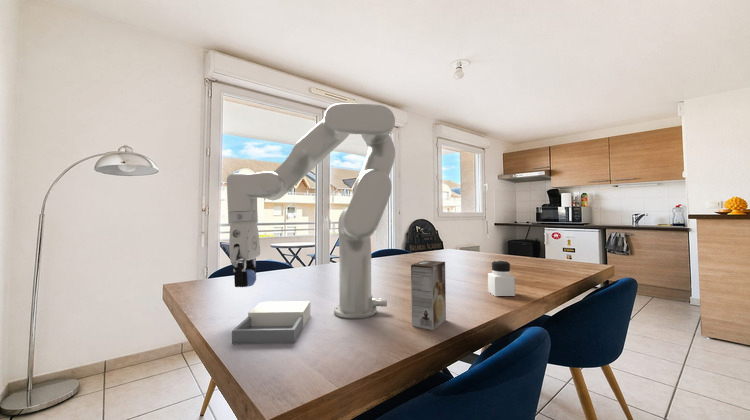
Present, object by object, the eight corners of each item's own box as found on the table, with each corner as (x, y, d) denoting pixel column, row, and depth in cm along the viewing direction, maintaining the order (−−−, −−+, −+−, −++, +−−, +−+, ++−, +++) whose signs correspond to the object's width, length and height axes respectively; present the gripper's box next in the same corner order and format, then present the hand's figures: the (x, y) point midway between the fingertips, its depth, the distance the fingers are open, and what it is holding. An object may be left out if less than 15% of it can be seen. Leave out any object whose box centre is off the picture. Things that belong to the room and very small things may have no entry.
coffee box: (424, 316, 87) (424, 259, 87) (446, 320, 83) (446, 261, 84) (410, 326, 79) (410, 264, 79) (434, 331, 76) (433, 266, 76)
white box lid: (310, 314, 88) (310, 301, 88) (303, 327, 78) (303, 311, 78) (261, 315, 88) (261, 301, 88) (248, 328, 78) (248, 312, 78)
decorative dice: (256, 284, 84) (255, 270, 85) (242, 287, 81) (242, 272, 81) (248, 283, 87) (248, 269, 87) (235, 286, 84) (234, 271, 84)
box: (303, 327, 78) (303, 316, 78) (294, 343, 69) (294, 329, 69) (247, 328, 78) (247, 316, 78) (231, 344, 68) (231, 330, 68)
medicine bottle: (515, 297, 106) (515, 262, 107) (495, 297, 107) (494, 262, 107) (507, 292, 114) (506, 259, 114) (487, 292, 114) (487, 259, 114)
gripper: (244, 218, 76) (247, 291, 76) (266, 217, 93) (269, 276, 93) (213, 219, 76) (216, 292, 75) (242, 218, 93) (244, 278, 93)
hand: (245, 283), depth 84 cm, fingers closed on decorative dice, 5 cm apart
